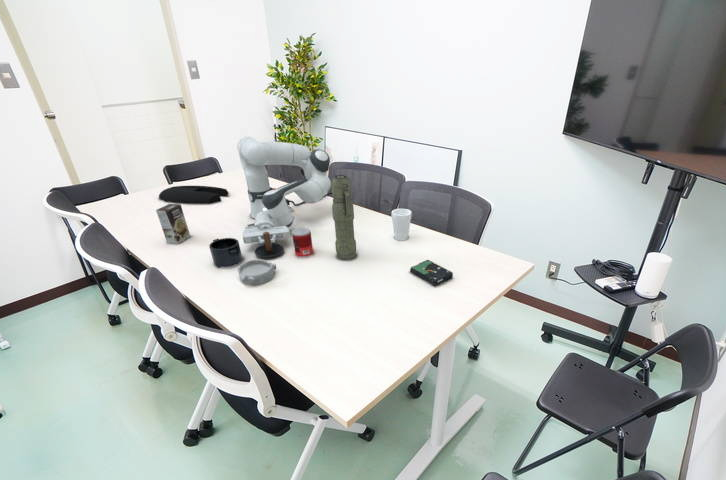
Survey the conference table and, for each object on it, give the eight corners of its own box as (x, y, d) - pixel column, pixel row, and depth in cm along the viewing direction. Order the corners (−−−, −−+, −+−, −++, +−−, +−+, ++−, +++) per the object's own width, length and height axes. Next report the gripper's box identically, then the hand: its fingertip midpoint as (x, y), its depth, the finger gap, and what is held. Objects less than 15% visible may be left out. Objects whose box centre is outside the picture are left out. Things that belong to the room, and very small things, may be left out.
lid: (274, 243, 180) (271, 224, 175) (289, 251, 173) (286, 232, 168) (249, 252, 172) (245, 232, 167) (264, 261, 165) (260, 241, 160)
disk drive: (452, 278, 158) (427, 264, 167) (453, 272, 156) (427, 258, 165) (435, 287, 152) (409, 272, 161) (435, 281, 150) (409, 266, 159)
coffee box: (178, 244, 181) (167, 211, 172) (166, 243, 182) (154, 209, 173) (191, 236, 189) (181, 204, 180) (179, 235, 190) (169, 203, 181)
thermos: (345, 263, 167) (339, 182, 147) (331, 254, 174) (322, 175, 155) (362, 257, 172) (358, 178, 152) (347, 248, 179) (341, 171, 160)
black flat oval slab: (175, 188, 248) (172, 181, 245) (235, 192, 244) (233, 184, 241) (149, 202, 228) (145, 193, 225) (213, 206, 223) (211, 197, 220)
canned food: (316, 251, 176) (313, 228, 170) (307, 259, 170) (304, 235, 164) (301, 248, 178) (298, 226, 172) (292, 256, 172) (288, 233, 166)
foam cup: (413, 235, 191) (414, 210, 184) (406, 243, 184) (406, 217, 177) (396, 232, 195) (396, 207, 187) (388, 239, 188) (388, 213, 180)
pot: (232, 251, 176) (227, 233, 171) (250, 263, 166) (246, 245, 162) (207, 259, 169) (201, 241, 164) (225, 273, 159) (220, 254, 155)
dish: (255, 290, 149) (253, 279, 146) (231, 280, 155) (228, 269, 152) (283, 274, 159) (281, 263, 156) (260, 265, 165) (258, 254, 162)
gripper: (289, 233, 184) (293, 245, 174) (244, 238, 179) (244, 251, 168) (287, 220, 181) (291, 232, 170) (241, 226, 175) (241, 238, 164)
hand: (267, 242), depth 169 cm, fingers closed on lid, 2 cm apart
